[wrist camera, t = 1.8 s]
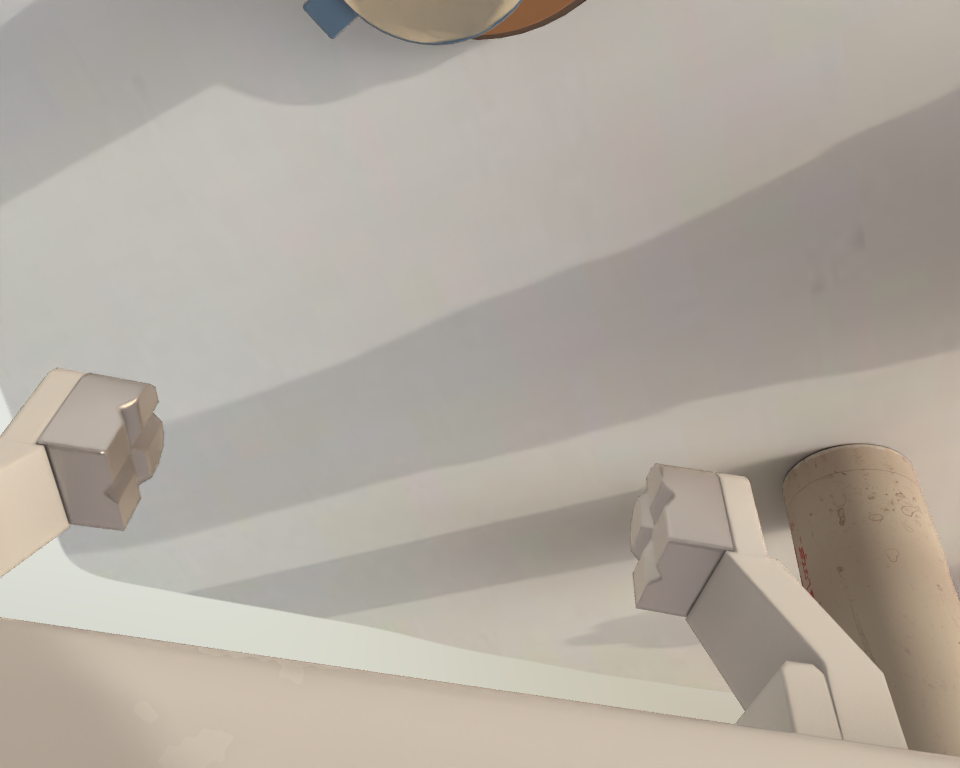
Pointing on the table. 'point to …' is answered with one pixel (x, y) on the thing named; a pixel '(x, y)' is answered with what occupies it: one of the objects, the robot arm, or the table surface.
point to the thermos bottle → (882, 579)
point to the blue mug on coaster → (433, 17)
